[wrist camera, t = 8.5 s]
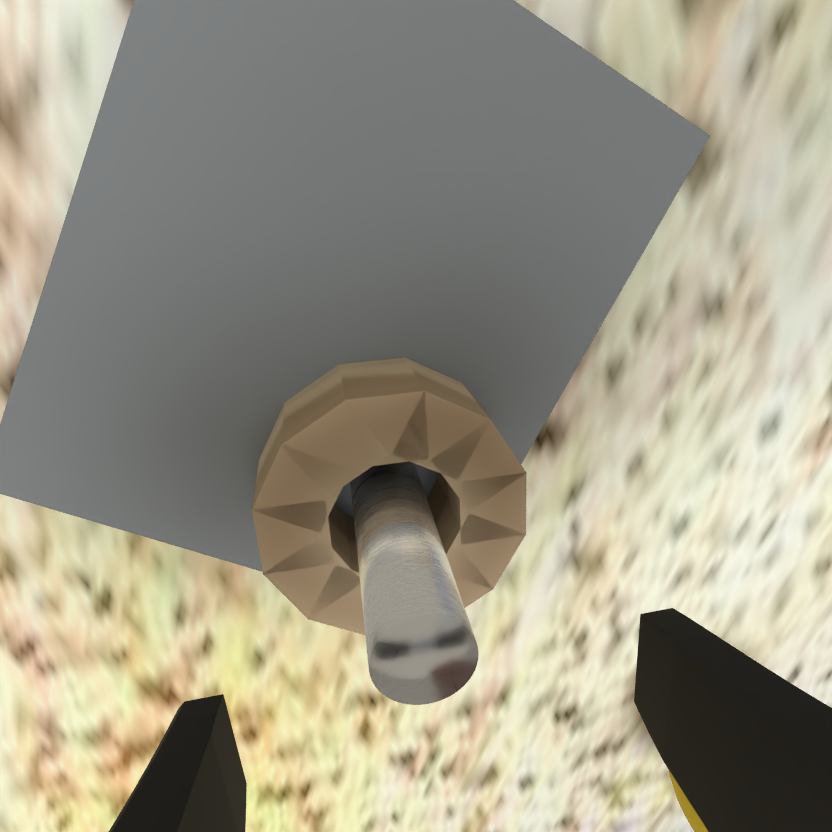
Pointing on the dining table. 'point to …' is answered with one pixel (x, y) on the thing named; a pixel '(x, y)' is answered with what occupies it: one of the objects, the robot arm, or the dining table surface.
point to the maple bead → (378, 445)
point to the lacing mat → (323, 241)
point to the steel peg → (408, 590)
